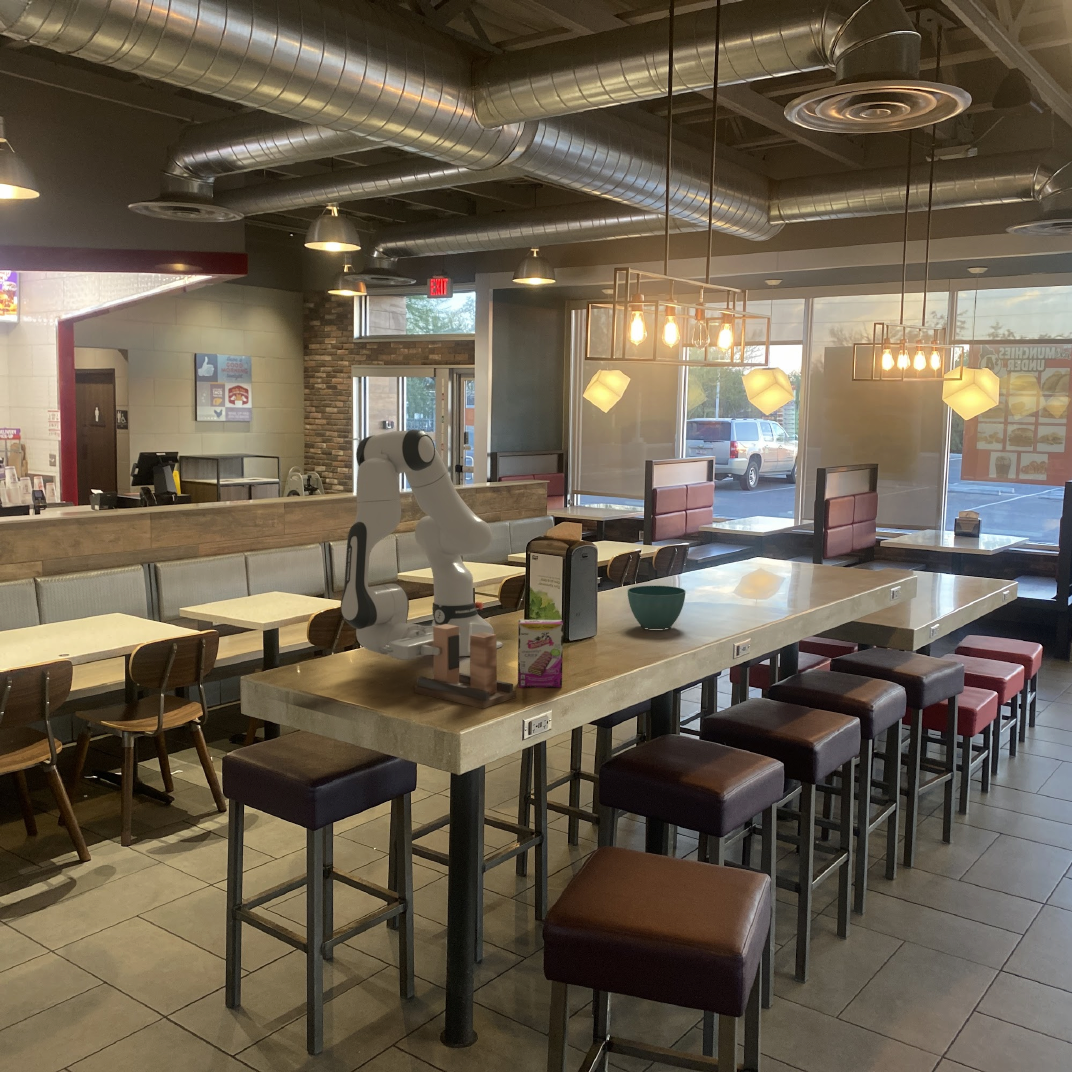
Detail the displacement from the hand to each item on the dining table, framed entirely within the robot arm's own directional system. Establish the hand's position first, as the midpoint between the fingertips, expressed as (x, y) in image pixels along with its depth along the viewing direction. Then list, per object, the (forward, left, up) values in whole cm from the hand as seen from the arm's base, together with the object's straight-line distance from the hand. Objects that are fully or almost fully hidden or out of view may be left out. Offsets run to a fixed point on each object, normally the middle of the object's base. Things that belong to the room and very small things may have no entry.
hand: (448, 649), depth 247 cm
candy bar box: (-18, +14, -11) cm, 25 cm away
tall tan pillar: (0, -1, -8) cm, 9 cm away
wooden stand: (0, +5, -10) cm, 12 cm away
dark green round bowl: (-96, 0, -11) cm, 97 cm away
